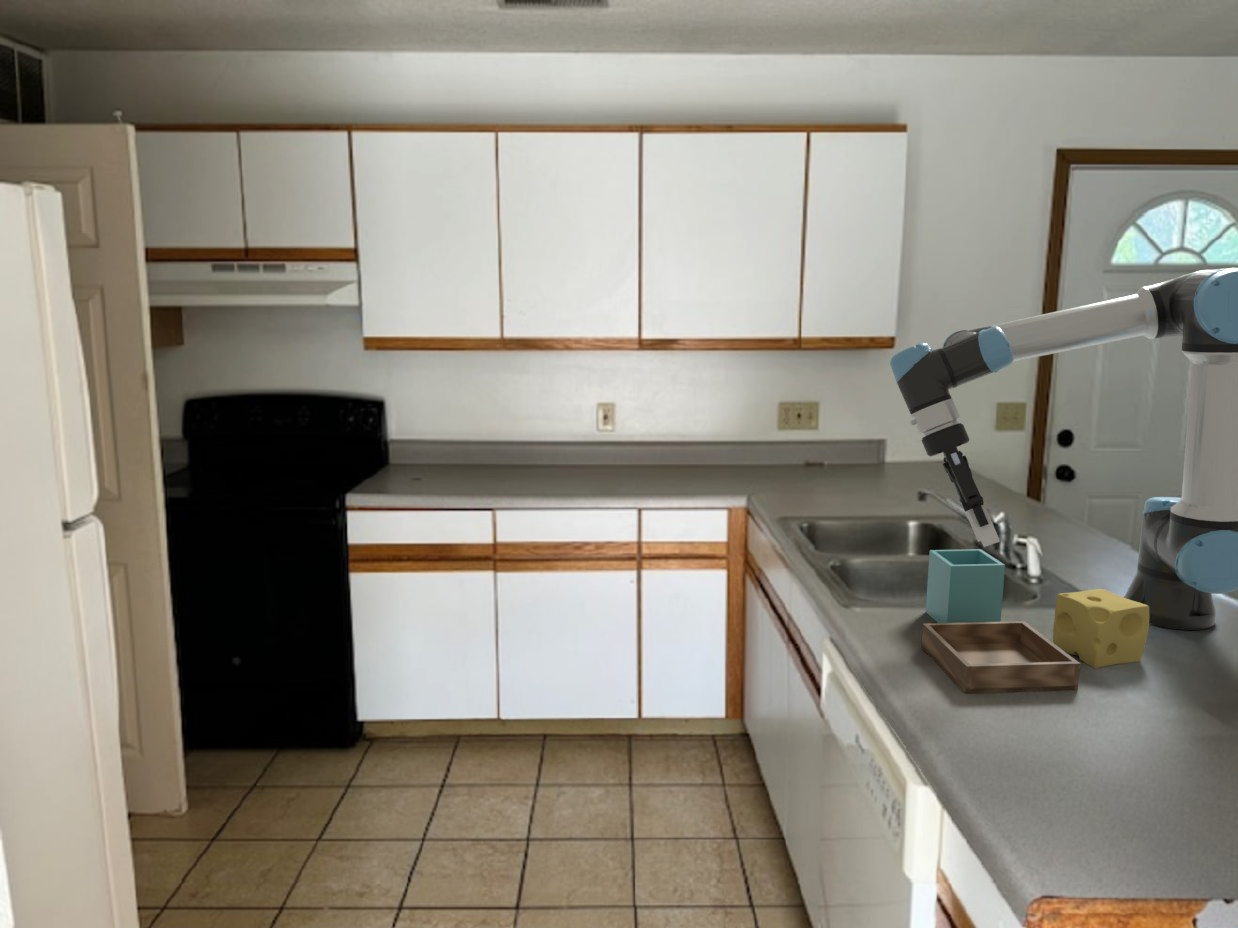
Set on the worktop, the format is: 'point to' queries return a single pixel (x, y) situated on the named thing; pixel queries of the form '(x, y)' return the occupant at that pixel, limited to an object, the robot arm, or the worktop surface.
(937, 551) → the teal crate
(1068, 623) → the cheese
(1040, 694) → the worktop surface
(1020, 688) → the walnut crate
